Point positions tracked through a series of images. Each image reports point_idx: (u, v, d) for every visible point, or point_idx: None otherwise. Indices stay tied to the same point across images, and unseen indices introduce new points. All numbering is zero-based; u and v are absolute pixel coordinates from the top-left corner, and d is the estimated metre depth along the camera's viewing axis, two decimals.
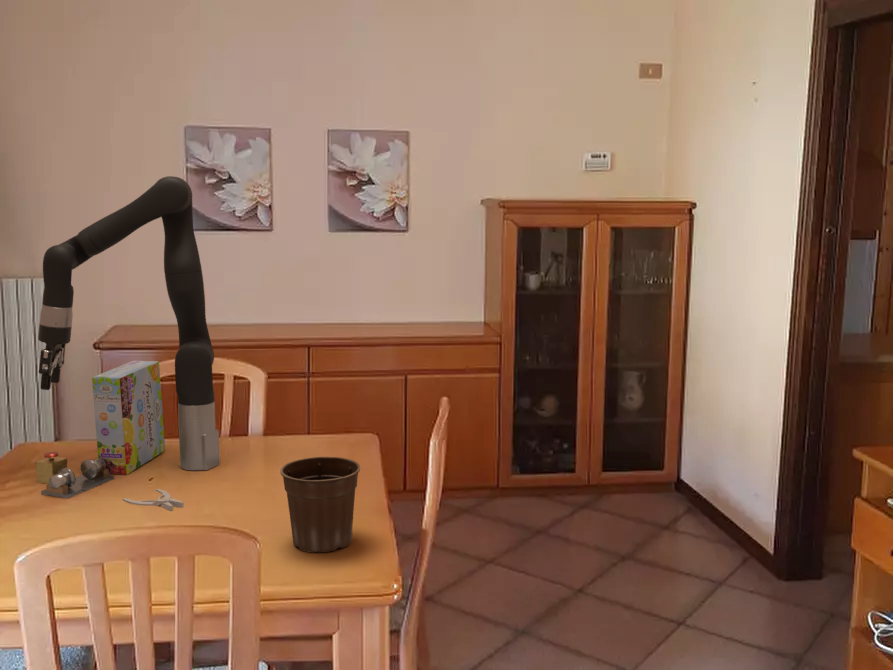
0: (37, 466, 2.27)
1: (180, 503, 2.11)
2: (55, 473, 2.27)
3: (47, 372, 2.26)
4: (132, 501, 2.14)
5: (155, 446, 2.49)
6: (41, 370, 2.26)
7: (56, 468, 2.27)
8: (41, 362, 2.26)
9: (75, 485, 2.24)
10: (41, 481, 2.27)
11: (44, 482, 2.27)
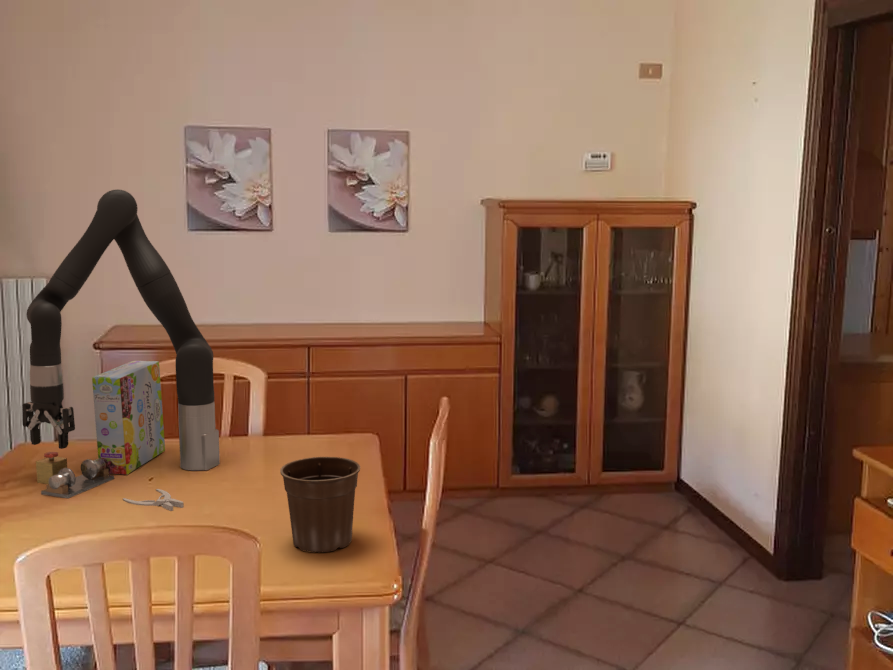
0: (37, 466, 2.27)
1: (180, 503, 2.11)
2: (55, 473, 2.27)
3: (73, 428, 2.26)
4: (132, 501, 2.14)
5: (155, 446, 2.49)
6: (69, 428, 2.24)
7: (56, 468, 2.27)
8: (68, 421, 2.24)
9: (75, 485, 2.24)
10: (41, 481, 2.27)
11: (44, 482, 2.27)
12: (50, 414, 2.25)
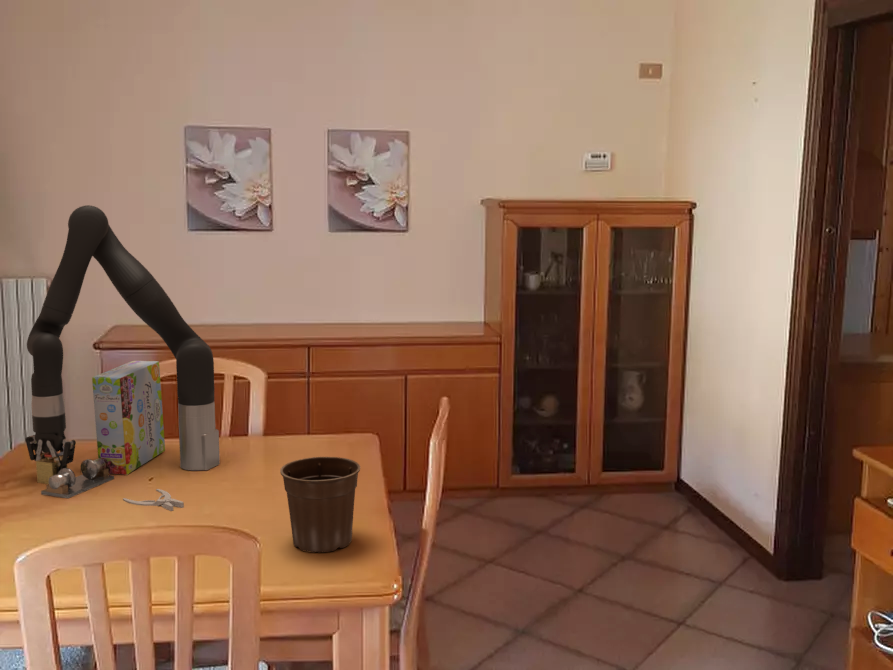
0: (37, 466, 2.27)
1: (180, 503, 2.11)
2: (55, 473, 2.27)
3: (71, 461, 2.27)
4: (132, 501, 2.14)
5: (155, 446, 2.49)
6: (67, 461, 2.26)
7: (56, 467, 2.27)
8: (68, 454, 2.25)
9: (75, 485, 2.24)
10: (41, 481, 2.27)
11: (44, 482, 2.27)
12: (52, 445, 2.26)
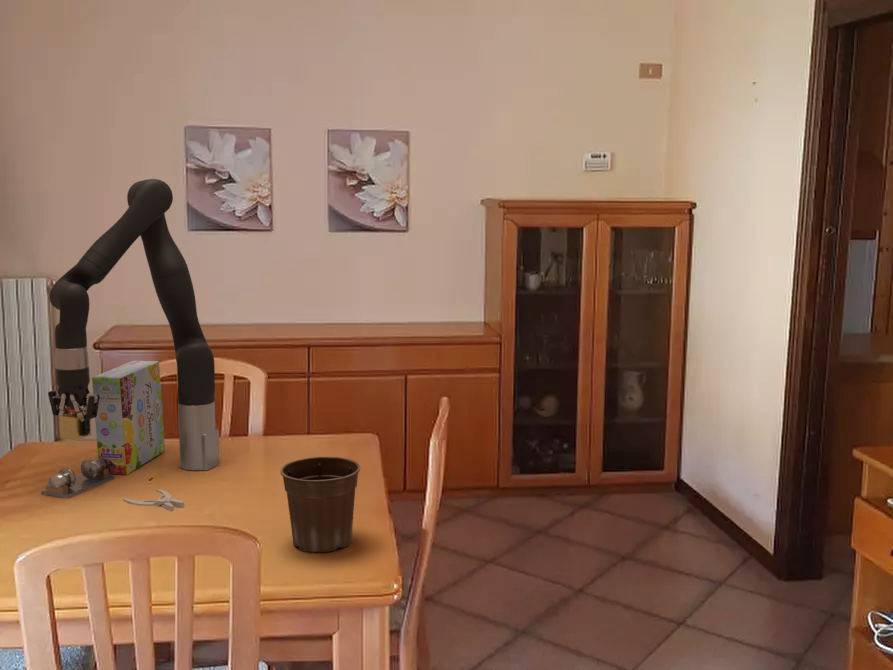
0: (60, 421, 2.21)
1: (181, 503, 2.11)
2: (78, 428, 2.21)
3: (95, 416, 2.22)
4: (133, 501, 2.14)
5: (155, 446, 2.49)
6: (91, 416, 2.20)
7: (79, 422, 2.21)
8: (92, 408, 2.20)
9: (75, 485, 2.24)
10: (64, 436, 2.22)
11: (67, 437, 2.21)
12: (76, 399, 2.20)
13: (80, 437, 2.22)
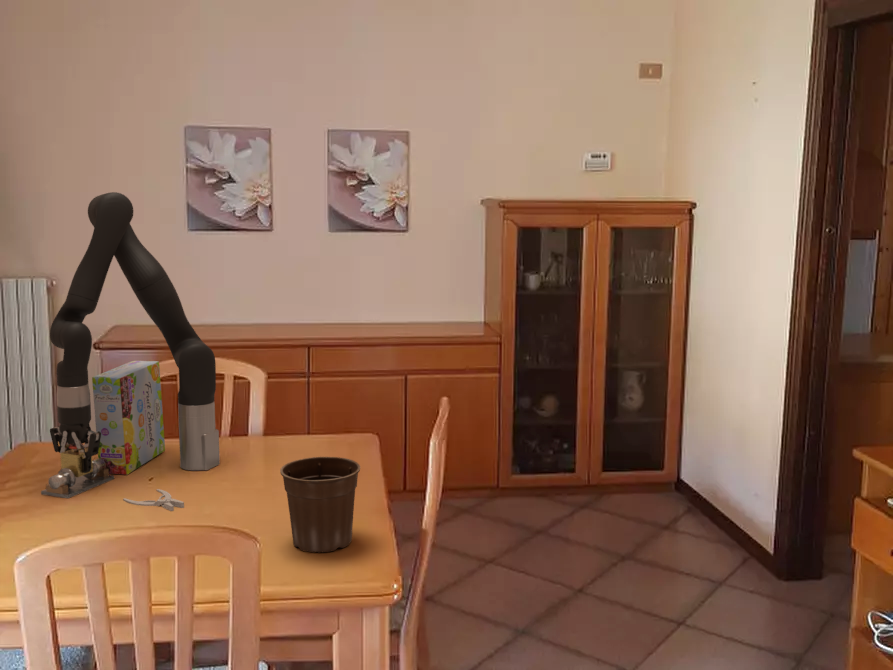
0: (61, 458, 2.23)
1: (181, 503, 2.11)
2: (80, 465, 2.22)
3: (97, 453, 2.23)
4: (133, 501, 2.14)
5: (155, 446, 2.49)
6: (92, 453, 2.22)
7: (80, 460, 2.22)
8: (93, 446, 2.21)
9: (75, 485, 2.24)
10: None
11: None
12: (77, 436, 2.21)
13: (82, 474, 2.23)
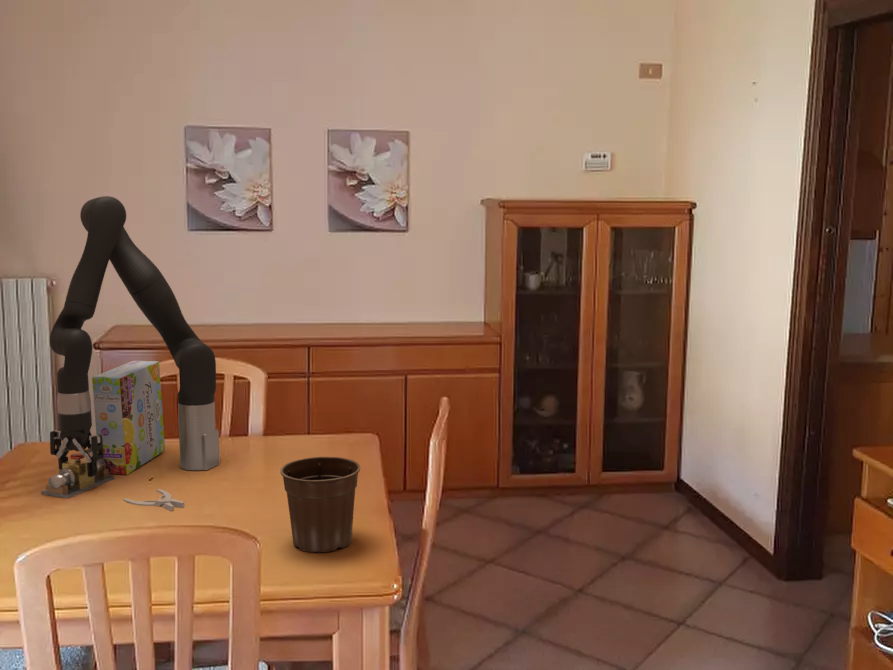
0: None
1: (181, 503, 2.11)
2: (82, 475, 2.23)
3: (102, 456, 2.23)
4: (133, 501, 2.14)
5: (155, 446, 2.49)
6: (98, 456, 2.21)
7: (82, 470, 2.23)
8: (97, 449, 2.21)
9: None
10: None
11: None
12: (79, 442, 2.21)
13: (84, 484, 2.23)
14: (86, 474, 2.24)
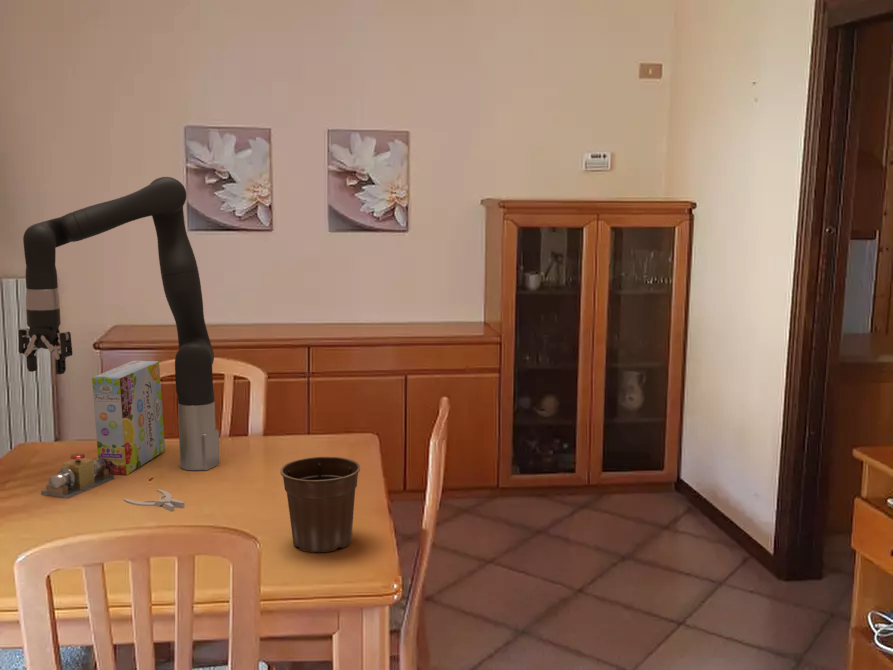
0: None
1: (181, 503, 2.11)
2: (82, 475, 2.23)
3: (71, 353, 2.24)
4: (133, 502, 2.14)
5: (155, 446, 2.49)
6: (66, 353, 2.22)
7: (82, 470, 2.23)
8: (65, 345, 2.22)
9: None
10: None
11: None
12: (47, 339, 2.22)
13: (84, 484, 2.23)
14: (86, 474, 2.24)
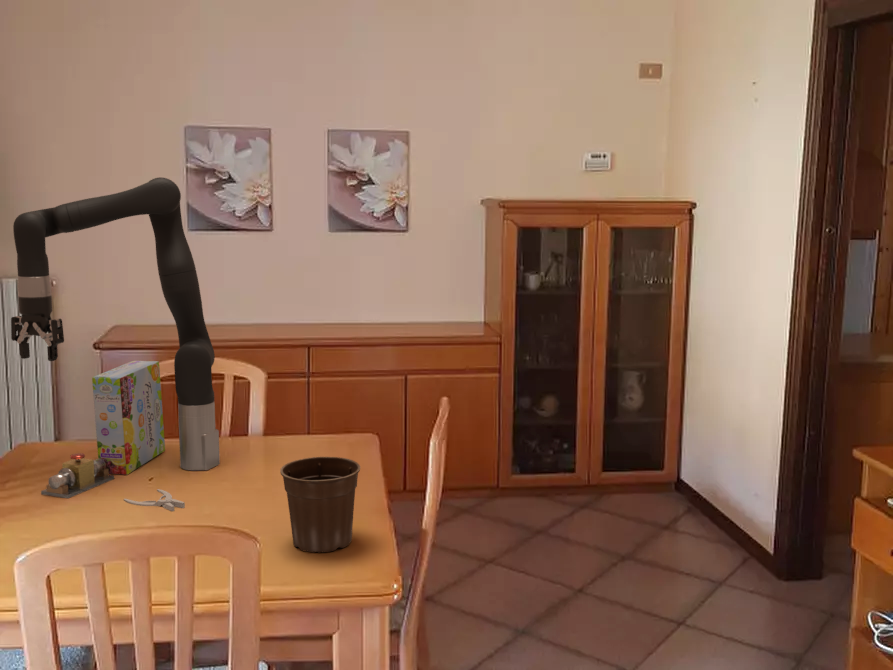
0: None
1: (181, 503, 2.11)
2: (82, 475, 2.23)
3: (62, 340, 2.25)
4: (133, 502, 2.14)
5: (155, 446, 2.49)
6: (58, 340, 2.24)
7: (82, 470, 2.23)
8: (57, 332, 2.24)
9: None
10: None
11: None
12: (39, 326, 2.24)
13: (84, 484, 2.23)
14: (86, 474, 2.24)
